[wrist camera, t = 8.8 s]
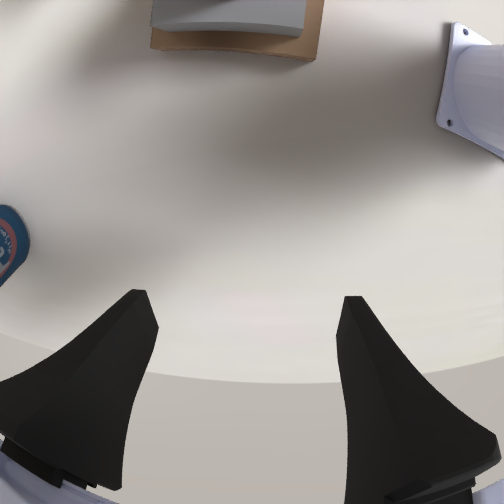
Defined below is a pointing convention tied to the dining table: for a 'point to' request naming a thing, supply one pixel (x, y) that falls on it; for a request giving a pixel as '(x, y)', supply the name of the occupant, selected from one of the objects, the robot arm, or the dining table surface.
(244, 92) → the dining table surface
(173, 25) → the grey top slab
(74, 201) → the dining table surface
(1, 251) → the soda can
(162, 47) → the walnut base slab
